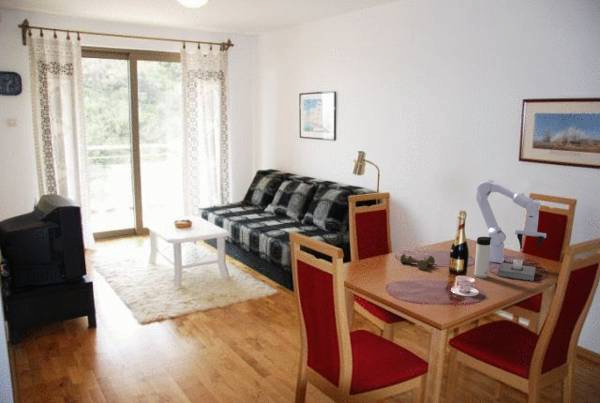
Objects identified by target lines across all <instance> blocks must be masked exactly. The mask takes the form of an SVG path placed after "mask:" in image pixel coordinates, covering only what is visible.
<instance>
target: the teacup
mask: <svg viewBox="0 0 600 403" xmlns="http://www.w3.org/2000/svg"><path fill="white" fill-rule="evenodd" d="M455 280H456V281H457V284H458V285H454V286H452V287H451V289H450V292H452V293H453V294H455V295H458V296H462V297H463V296H464V297H475V296H478V295H479V294H480V292H479V290H478V289H476V279H475V278H473V277H471V276H467V275H457V276H455ZM472 285H473V287H472Z"/></svg>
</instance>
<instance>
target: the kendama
mask: <svg viewBox="0 0 600 403" xmlns="http://www.w3.org/2000/svg"><path fill="white" fill-rule="evenodd" d="M435 261H436V260H435V258H434V256H432V255H430V254H427V255H425V256H424V257H423V259H416V258H414V257H412V255H406V254H405V253H402V254H401V256H400V263H401V264H406V263H407V264H408V265H410V264H416V266H417V268H418V269H419V270H421V271H426V270H427V268H428V267H433V266H435V267H437V266H438V264H436V263H435Z"/></svg>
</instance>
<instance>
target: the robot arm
mask: <svg viewBox="0 0 600 403" xmlns="http://www.w3.org/2000/svg"><path fill="white" fill-rule="evenodd" d="M476 190H477V191H476V202H477V204H478V207H479V209H480V212H481V214H482V217H483V220H484V223H485V224H486V226H487V229H488V233H487V234H488V237H491V238H492V239H491V240H490V241H491V242H490V255H489V263H490V262H492V263H499V264H501V262H502V263H504V261H505V258H504V250H505V249H504V248H505V244H504V243H505V241H506V239H507V237H506V236H507V235H506V234H505V232H504V231H503V230H502V228H501V227H500V226H499V224H498V222H497V219H496V217H495V215H494V212H493V210H492V208H491V205H490V202H489V200H488V198H489V196H490V195H491V193H500V194H501V195H504V196H506V197H507V198H510V199H511V200H512V202H513V203H514V204H516V205H518V206H519V207H521V208H523V209H525V211H526V215H525V216H526V217H525V226H524V230H517V229H515V232H514V235H516V237H517V240H518V242H519V249H521V250H523V236H530V237H536V238H537V244H536V251H537V252H539V248H540V246H541V244H542V243H543V241H544V239H546V238H547V233H546V232H540V231H538V226H539V216H540V214H539V213H540V209H541V208H542V207H541V206H542V204H541V203H540V201H538V200H537V199H533V198H532V197H528V196H526V195H525V193H523V192H517V193H515V192H514V191H512V190H510V189H509V188H507V187H506V186H504V185H502V184H500V183H498V182H496V181H494V180H493V179H486V180H485V181H481V182H480V183H479V184H478V186H476Z"/></svg>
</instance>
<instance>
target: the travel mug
mask: <svg viewBox="0 0 600 403" xmlns="http://www.w3.org/2000/svg"><path fill="white" fill-rule="evenodd" d="M491 239H492V238H491V237H489V236H479V237H477V239H476V247H475V248H476V250H475V260H474V261H475V262H474V270H473V271H474V273H473V274H474V277H475V278H477V279H487V278H488V277H489V276H488V275H489V265H490V261H489V255H490V242H491V241H490V240H491Z"/></svg>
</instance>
